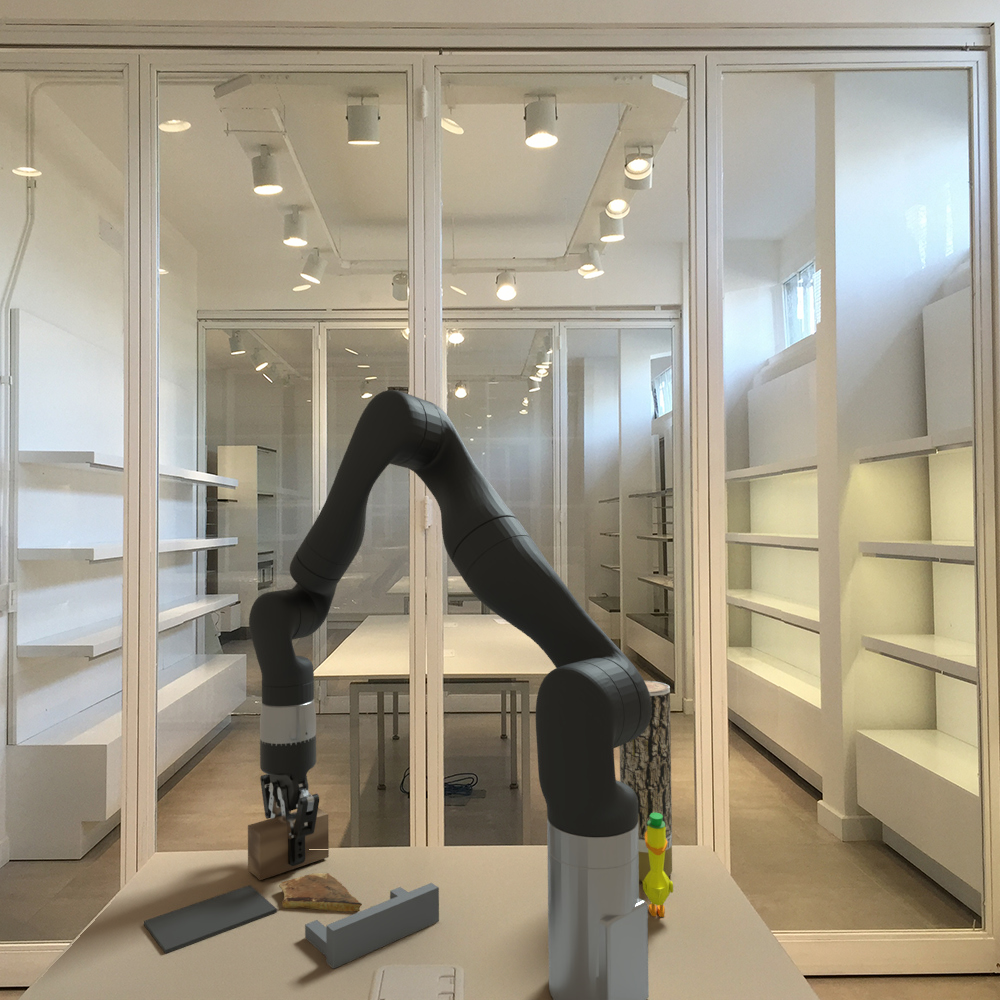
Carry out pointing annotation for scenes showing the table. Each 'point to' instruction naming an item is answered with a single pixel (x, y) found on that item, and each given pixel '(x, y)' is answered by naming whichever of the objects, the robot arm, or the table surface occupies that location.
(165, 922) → the rest mat
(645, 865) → the bark log stump
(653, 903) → the toy figure
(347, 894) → the shard
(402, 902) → the dock
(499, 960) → the table surface
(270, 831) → the block
